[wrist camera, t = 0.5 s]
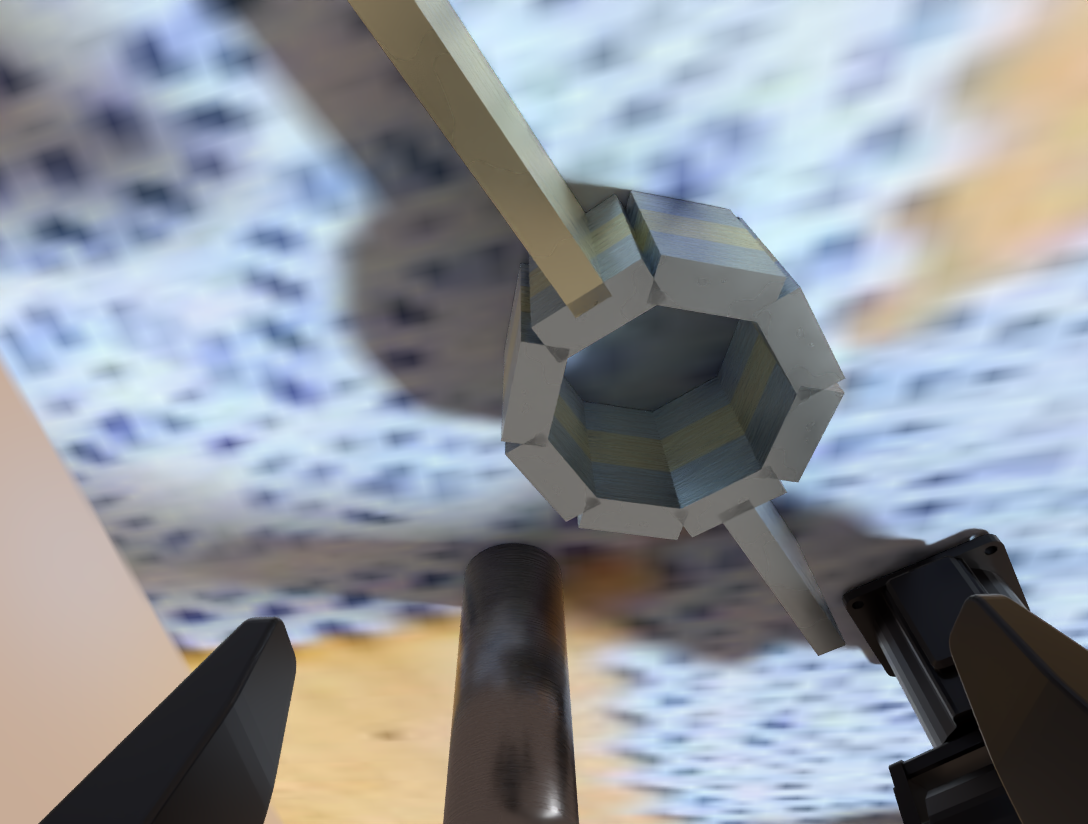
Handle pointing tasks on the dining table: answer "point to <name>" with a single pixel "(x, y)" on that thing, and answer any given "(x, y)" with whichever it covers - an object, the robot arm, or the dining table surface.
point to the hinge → (612, 301)
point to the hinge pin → (512, 695)
